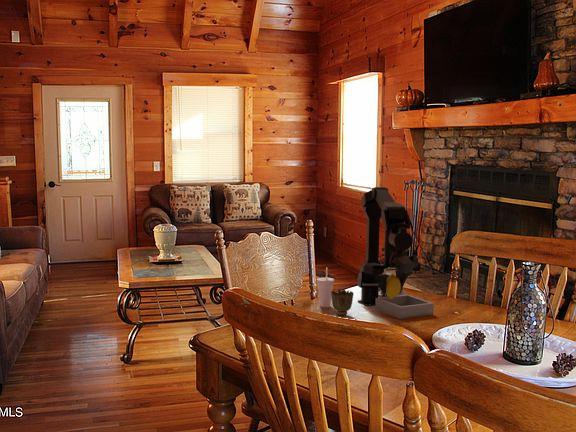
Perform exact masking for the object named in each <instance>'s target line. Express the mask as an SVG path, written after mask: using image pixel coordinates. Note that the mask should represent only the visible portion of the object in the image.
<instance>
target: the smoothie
mask: <svg viewBox="0 0 576 432" xmlns="http://www.w3.org/2000/svg"><path fill="white" fill-rule="evenodd" d="M328 273H329V270H328V267H325V277H317V278H316V283H317V294H318V304H319V307H321V308H330V307H331V303H332V294H331V292H332V291H334V290H333V289H334V283H335V278H333V277H328Z"/></svg>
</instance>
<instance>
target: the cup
mask: <svg viewBox="0 0 576 432" xmlns="http://www.w3.org/2000/svg"><path fill="white" fill-rule="evenodd" d="M354 293H355V292H353V291H352V290H349V289H348V290H347V291H346V289H342V290H341V289H338V290H337V291H336V290H332V292H331V294H332V296H331V303H332V307H333V309H334V310H335V311H336V315H337V316H339V317H346V316H348V311H349V310H351V309H352V306H353V301H354V299H353V298H354Z"/></svg>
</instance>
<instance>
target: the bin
mask: <svg viewBox="0 0 576 432" xmlns="http://www.w3.org/2000/svg"><path fill="white" fill-rule="evenodd" d="M434 306H435V305H434V302H432V301H428V300H424V299H422V298H419V297H416V296H413V295H410V294H405V295H399V296H396V297H394V298H393V299H390V298H389V297H388V296H381V297H379V298H376V305H375V310H377V311H378V312H381V313H383V314H385V315H387V316H391V317H392V318H393V317H394V318H395V319H398V320H404V319H405V320H406V319H412V318H413V319H414V318H419V317H428V316H434V310H435V309H434Z"/></svg>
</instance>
